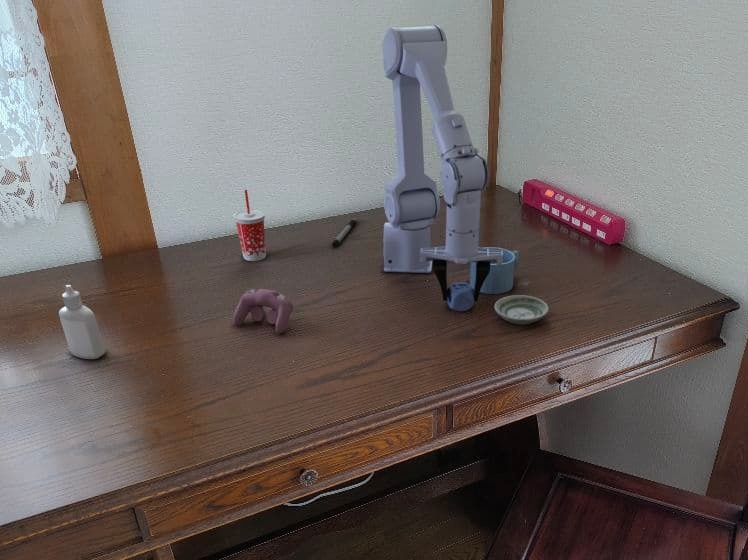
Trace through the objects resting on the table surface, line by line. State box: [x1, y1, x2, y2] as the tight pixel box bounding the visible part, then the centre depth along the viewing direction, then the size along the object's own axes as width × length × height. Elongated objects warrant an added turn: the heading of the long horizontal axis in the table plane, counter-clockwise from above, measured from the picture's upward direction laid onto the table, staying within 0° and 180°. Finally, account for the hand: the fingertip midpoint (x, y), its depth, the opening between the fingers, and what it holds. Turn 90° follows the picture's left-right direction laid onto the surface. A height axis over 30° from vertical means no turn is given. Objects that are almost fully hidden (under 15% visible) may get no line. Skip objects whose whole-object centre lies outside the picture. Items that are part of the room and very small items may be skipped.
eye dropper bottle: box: [58, 284, 106, 360], centre depth 115 cm, size 4×6×12 cm
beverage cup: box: [233, 189, 267, 262], centre depth 148 cm, size 6×6×14 cm
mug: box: [469, 246, 520, 295], centre depth 142 cm, size 11×8×6 cm
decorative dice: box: [447, 281, 475, 312], centre depth 134 cm, size 4×4×4 cm
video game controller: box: [232, 288, 294, 335], centre depth 127 cm, size 10×5×7 cm, turn 71°
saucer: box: [493, 294, 550, 326], centre depth 131 cm, size 10×10×2 cm
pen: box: [332, 217, 358, 247], centre depth 163 cm, size 1×16×1 cm, turn 169°
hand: (460, 298), depth 134 cm, fingers closed on decorative dice, 5 cm apart
